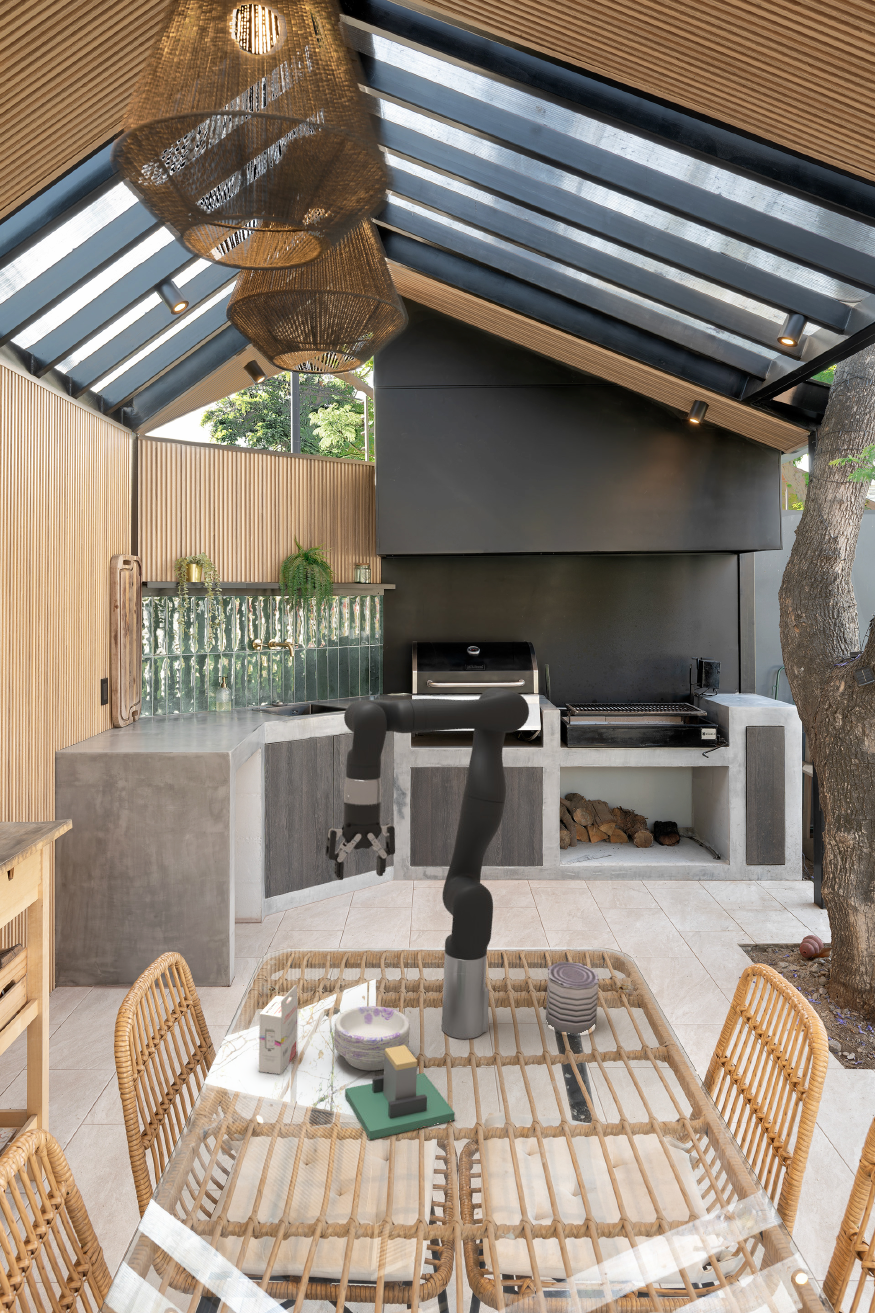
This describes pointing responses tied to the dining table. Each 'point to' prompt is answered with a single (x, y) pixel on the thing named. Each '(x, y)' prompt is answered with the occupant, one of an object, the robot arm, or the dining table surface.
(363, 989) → the dining table surface
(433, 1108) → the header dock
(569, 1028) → the can
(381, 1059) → the paper bowls
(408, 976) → the dining table surface
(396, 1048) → the block
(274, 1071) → the ink cartridge box
